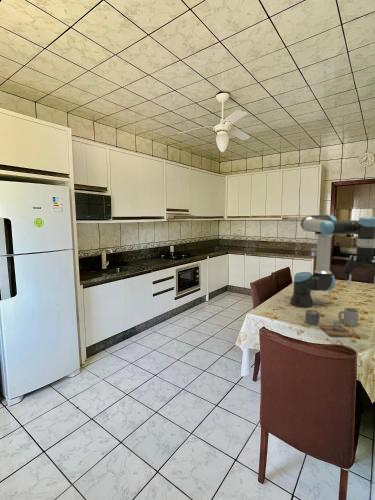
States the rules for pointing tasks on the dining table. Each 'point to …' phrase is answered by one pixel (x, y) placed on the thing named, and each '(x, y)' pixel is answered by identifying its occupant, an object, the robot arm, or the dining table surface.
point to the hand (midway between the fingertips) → (362, 286)
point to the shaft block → (336, 330)
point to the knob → (312, 317)
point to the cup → (349, 317)
